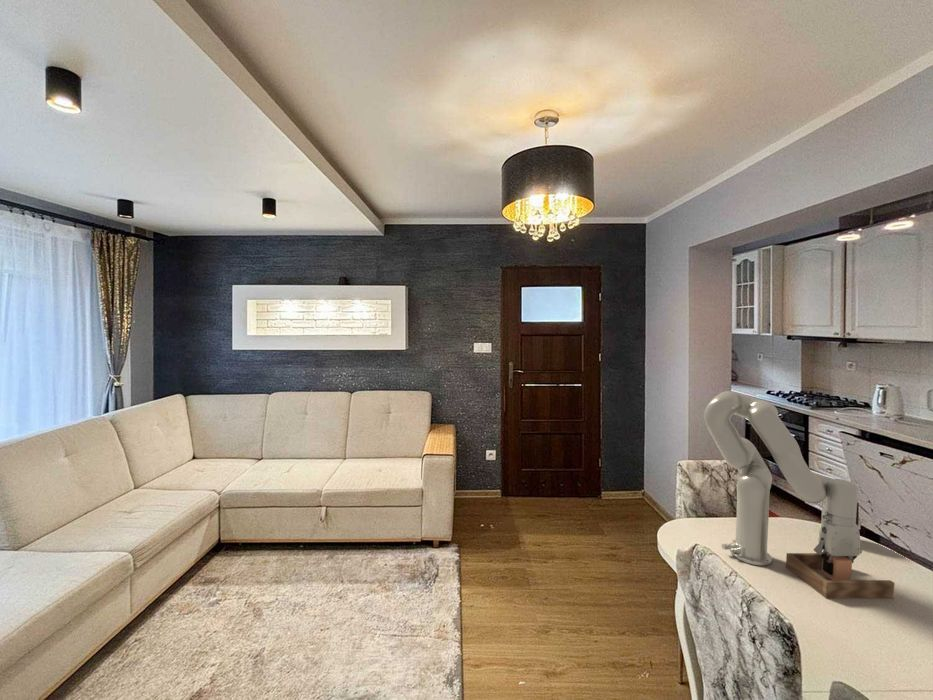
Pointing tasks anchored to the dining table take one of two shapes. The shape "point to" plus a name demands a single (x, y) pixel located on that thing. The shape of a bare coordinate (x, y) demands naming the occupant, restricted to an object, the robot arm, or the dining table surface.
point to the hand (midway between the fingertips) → (836, 572)
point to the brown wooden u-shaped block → (835, 588)
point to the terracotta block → (840, 568)
